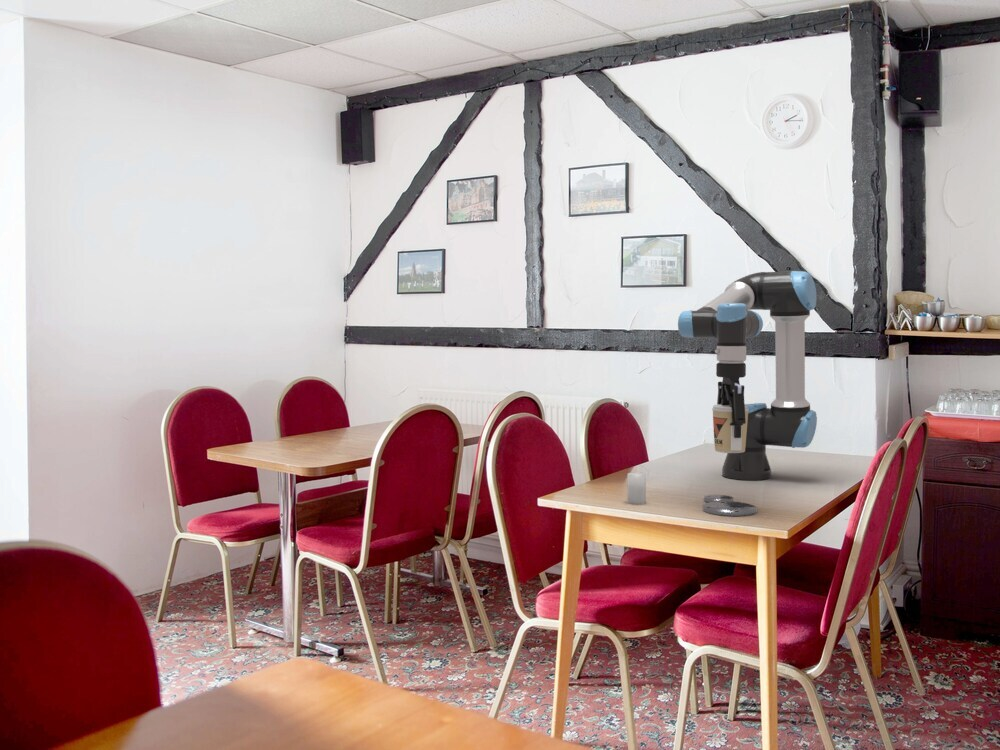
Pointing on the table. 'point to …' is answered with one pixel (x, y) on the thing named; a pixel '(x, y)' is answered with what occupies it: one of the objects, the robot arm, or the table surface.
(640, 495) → the grey cylinder
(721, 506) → the disc
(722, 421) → the coffee cup
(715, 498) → the flange small
